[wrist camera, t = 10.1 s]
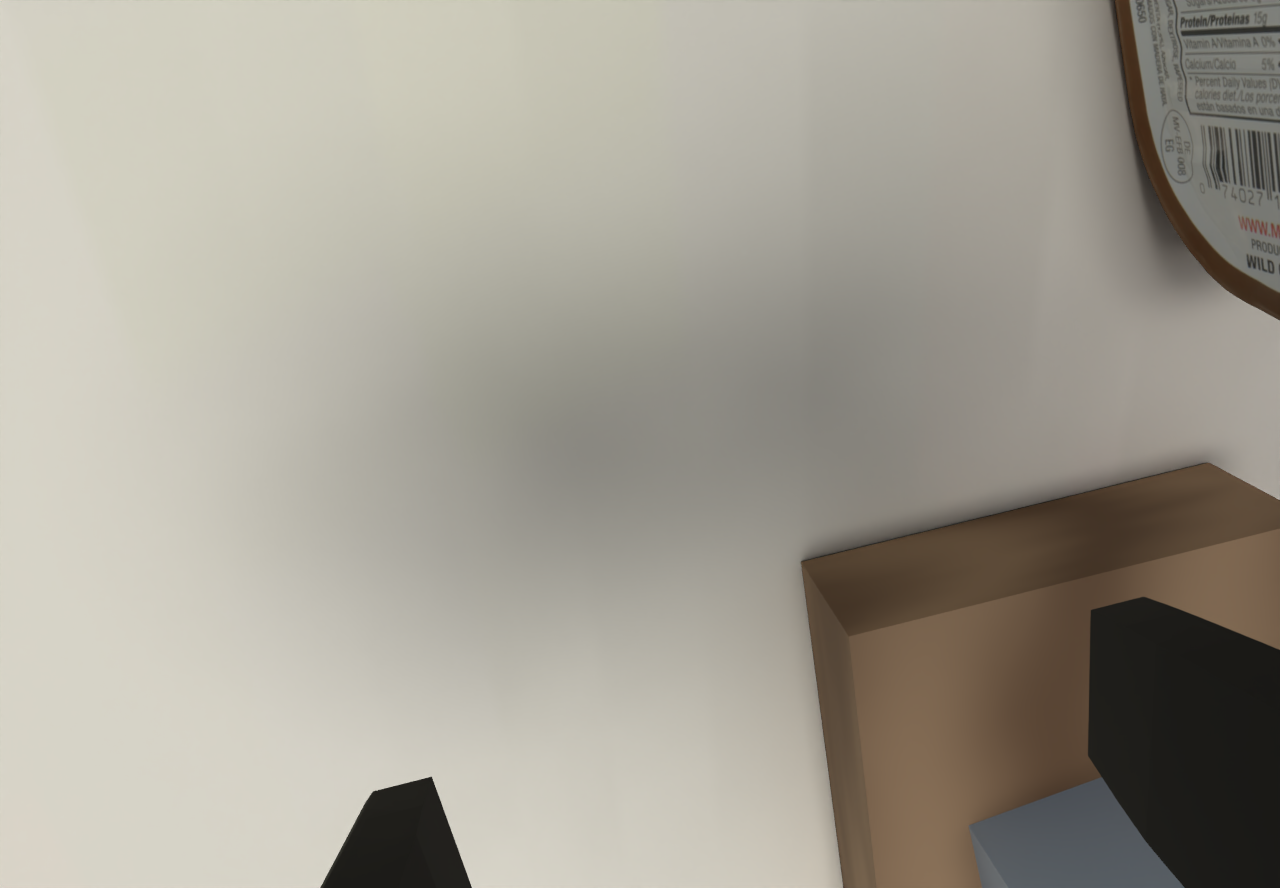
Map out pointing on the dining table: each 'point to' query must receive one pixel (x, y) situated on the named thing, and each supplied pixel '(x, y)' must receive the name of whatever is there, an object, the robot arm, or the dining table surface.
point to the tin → (1212, 130)
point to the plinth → (1006, 654)
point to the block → (1067, 845)
